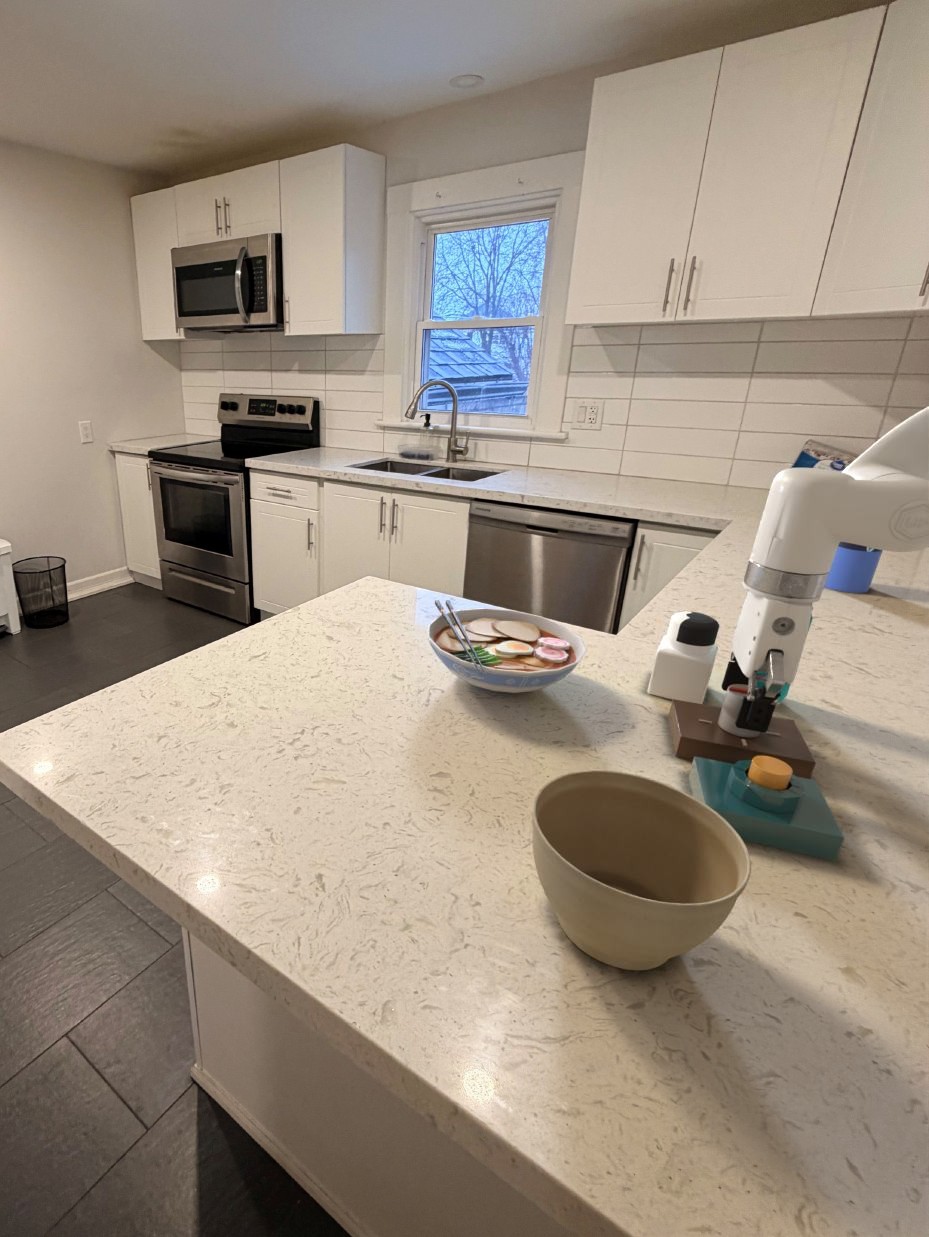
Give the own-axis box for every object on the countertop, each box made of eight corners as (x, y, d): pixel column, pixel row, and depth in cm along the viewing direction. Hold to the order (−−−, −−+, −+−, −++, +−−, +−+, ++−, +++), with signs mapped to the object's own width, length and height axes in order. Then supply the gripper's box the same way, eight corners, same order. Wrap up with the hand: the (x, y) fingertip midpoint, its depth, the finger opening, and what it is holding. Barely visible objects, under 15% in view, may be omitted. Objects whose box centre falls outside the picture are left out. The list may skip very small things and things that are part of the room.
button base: (807, 801, 74) (821, 764, 72) (835, 861, 66) (851, 821, 64) (688, 776, 78) (698, 741, 76) (699, 830, 70) (711, 791, 68)
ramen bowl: (607, 725, 89) (619, 671, 86) (438, 724, 88) (444, 670, 85) (545, 646, 112) (552, 601, 109) (411, 645, 112) (414, 600, 108)
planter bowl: (598, 839, 68) (618, 751, 64) (757, 958, 55) (795, 857, 51) (478, 895, 61) (492, 800, 57) (629, 1046, 48) (661, 937, 44)
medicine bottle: (706, 688, 99) (727, 614, 94) (701, 708, 93) (723, 630, 88) (654, 675, 102) (671, 603, 98) (646, 693, 97) (664, 618, 92)
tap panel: (786, 739, 86) (794, 718, 85) (808, 783, 77) (816, 761, 76) (667, 717, 91) (672, 697, 89) (675, 756, 82) (681, 735, 81)
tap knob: (756, 722, 84) (767, 685, 82) (763, 741, 80) (776, 703, 78) (714, 715, 86) (725, 679, 83) (720, 733, 82) (731, 695, 80)
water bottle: (804, 579, 145) (841, 464, 135) (840, 577, 146) (879, 463, 137) (843, 594, 136) (885, 472, 127) (880, 592, 138) (925, 471, 128)
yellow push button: (782, 775, 71) (788, 759, 70) (791, 795, 68) (797, 778, 67) (744, 767, 72) (749, 752, 72) (750, 786, 69) (756, 770, 68)
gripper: (848, 611, 66) (795, 753, 73) (801, 562, 81) (761, 684, 88) (762, 599, 69) (719, 738, 76) (732, 554, 84) (698, 673, 91)
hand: (742, 709), depth 82 cm, fingers open, 9 cm apart
